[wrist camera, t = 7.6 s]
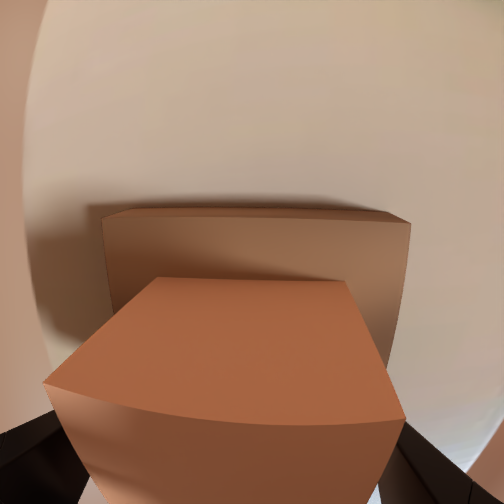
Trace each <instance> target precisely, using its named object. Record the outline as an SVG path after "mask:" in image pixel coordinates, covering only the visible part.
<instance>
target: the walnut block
mask: <svg viewBox="0 0 504 504" xmlns="http://www.w3.org/2000/svg"><path fill="white" fill-rule="evenodd" d="M101 221H102V232H103V242H104V251H105V260H106V267H107V275H108V282H109V288H110V295H111V301H112V306H113V312H114V315H115V314H116V313H117V312H118V311H119V310H120V309H122V308H123V307H124V306H125V305H126V304H127V303H128V302H129V301H131V300H132V299H133V298H134V297H135V296H136V295H137V294H138V293H140V292H141V291H142V290H143V289H144V288H145V287H146V286H147V285H149V284H150V283H151V282H152V281H153V280H154V279H155V278H157V277H173V278H200V279H232V280H275V281H345V282H346V284H347V286H348V288H349V290H350V293H351V295H352V297H353V299H354V301H355V303H356V305H357V307H358V309H359V311H360V313H361V315H362V318H363V320H364V322H365V324H366V326H367V328H368V330H369V333H370V335H371V337H372V339H373V341H374V344H375V346H376V348H377V350H378V352H379V355H380V357H381V359H382V361H383V364H384V366H385V368H387V364H388V360H389V356H390V352H391V348H392V343H393V339H394V334H395V330H396V325H397V320H398V315H399V309H400V304H401V298H402V292H403V286H404V280H405V273H406V266H407V258H408V250H409V241H410V232H411V223H409V222H407V221H405V220H403V219H401V218H399V217H397V216H395V215H393V214H391V213H388V212H378V211H358V210H336V209H308V208H266V207H163V208H132V209H129V210H126V211H122V212H119V213H116V214H113V215H110V216H107V217H103V218H101Z"/></svg>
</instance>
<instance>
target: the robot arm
mask: <svg viewBox="0 0 504 504" xmlns="http://www.w3.org/2000/svg"><path fill="white" fill-rule="evenodd" d="M89 477H90V475H89V473H88V471H87V470H86V468H85V466H84V465H83V463H82V461H81V460H80V458H79V456H78V455H77V453H76V451H75V449H74V447H73V446H72V444H71V442H70V440H69V438H68V436H67V434H66V433H65V431H64V429H63V427H62V425H61V423H60V421H59V419H58V416H57V414H56V412H55V410H52V411H50V412H48V413H46V414H44V415H42V416H40V417H37V418H35V419H33V420H31V421H29V422H26V423H24V424H22V425H20V426H18V427H15V428H13V429H11V430H9V431H7V432H4V433H2V434H0V504H78V501H79V499H80V497H81V495H82V493H83V490H84V488H85V486H86V484H87V482H88V480H89ZM472 481H473V480H472V479H471V478H470V477H469V476H468V475H467V474H466V473H464V472H463V471H462V470H461V469H460V468H459V467H457V466H456V465H455V464H454V463H453V462H452V461H450V460H449V459H448V458H447V457H446V456H445V455H444V454H442V453H441V452H440V451H439V450H438V449H437V448H435V447H434V446H433V445H432V444H431V443H430V442H429V441H428V440H426V439H425V438H424V437H423V436H422V435H421V434H420V433H418V432H417V431H416V430H415V429H414V428H413V427H412V426H411V425H409V424H408V423H407V422H406V421H405V423H404V425H403V428H402V430H401V433H400V435H399V438H398V440H397V443H396V445H395V447H394V449H393V452H392V454H391V456H390V458H389V461H388V463H387V465H386V467H385V469H384V471H383V473H382V475H381V477H380V479H379V481H378V487H379V493H380V498H381V504H504V503H502V502H501V501H499V500H498V499H496V498H495V497H493V496H492V495H491V494H490V493H488V492H487V491H486V490H485V489H483V488H482V487H481V486H480V485H478V484H477V483H476V482H475V481H473V482H472Z"/></svg>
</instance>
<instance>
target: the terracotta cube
mask: <svg viewBox="0 0 504 504" xmlns="http://www.w3.org/2000/svg"><path fill="white" fill-rule="evenodd" d="M43 385H44V387H45V390H46V392H47V394H48V397H49V399H50V401H51V404H52V406H53V408H54V410H55V412H56V414H57V416H58V419H59V421H60V423H61V425H62V427H63V429H64V431H65V433H66V434H67V436H68V438H69V440H70V442H71V444H72V446H73V447H74V449H75V451H76V453H77V455H78V456H79V458H80V460H81V461H82V463H83V465H84V466H85V468H86V470H87V471H88V473H89V475H90V476H91V478H92V479H93V481H94V482H95V484H96V485H97V487H98V488H99V490H100V491H101V493H102V494H103V496H104V497H105V499H106V500H107V501H108V503H109V504H367V502H368V500H369V499H370V497H371V495H372V493H373V491H374V489H375V487H376V485H377V483H378V481H379V479H380V477H381V475H382V473H383V471H384V469H385V467H386V465H387V463H388V461H389V458H390V456H391V454H392V452H393V449H394V447H395V445H396V443H397V440H398V438H399V435H400V433H401V430H402V428H403V425H404V423H405V420H406V417H405V414H404V412H403V409H402V407H401V404H400V402H399V399H398V397H397V394H396V392H395V390H394V387H393V385H392V382H391V380H390V378H389V375H388V373H387V371H386V368H385V366H384V364H383V361H382V359H381V357H380V355H379V352H378V350H377V348H376V346H375V344H374V341H373V339H372V337H371V335H370V333H369V330H368V328H367V326H366V324H365V322H364V320H363V318H362V315H361V313H360V311H359V309H358V307H357V305H356V303H355V301H354V299H353V297H352V295H351V293H350V290H349V288H348V286H347V284H346V282H345V281H275V280H232V279H200V278H173V277H157V278H155V279H154V280H153V281H152V282H151V283H150V284H149V285H147V286H146V287H145V288H144V289H143V290H142V291H141V292H140V293H138V294H137V295H136V296H135V297H134V298H133V299H132V300H131V301H129V302H128V303H127V304H126V305H125V306H124V307H123V308H122V309H120V310H119V311H118V312H117V313H116V314H115V315H114V316H113V317H112V318H111V319H109V320H108V321H107V322H106V323H105V324H104V325H103V326H102V327H101V328H100V329H98V330H97V331H96V332H95V333H94V334H93V335H92V336H91V337H90V338H89V339H88V340H87V341H86V342H84V343H83V344H82V345H81V346H80V347H79V348H78V349H77V350H76V351H75V352H74V353H73V354H72V355H71V356H70V357H68V358H67V359H66V360H65V361H64V362H63V363H62V364H61V365H60V366H59V367H58V368H57V369H56V370H55V371H54V372H53V373H52V374H51V375H50V376H49V377H48V378H47V379H46V380H45V381H44V382H43Z"/></svg>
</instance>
